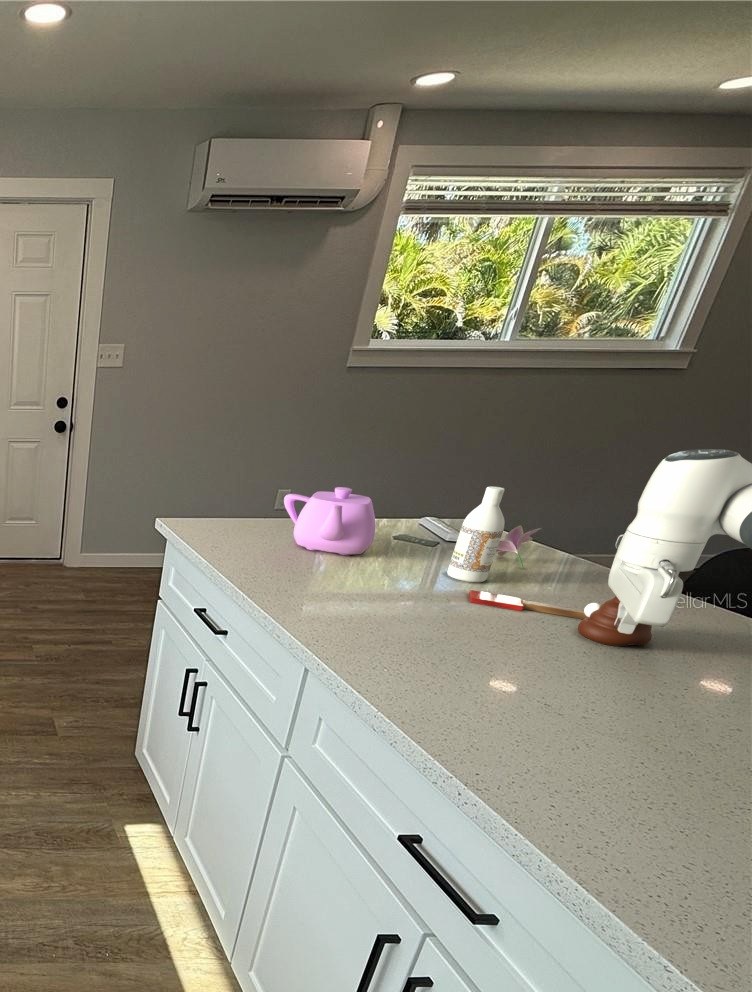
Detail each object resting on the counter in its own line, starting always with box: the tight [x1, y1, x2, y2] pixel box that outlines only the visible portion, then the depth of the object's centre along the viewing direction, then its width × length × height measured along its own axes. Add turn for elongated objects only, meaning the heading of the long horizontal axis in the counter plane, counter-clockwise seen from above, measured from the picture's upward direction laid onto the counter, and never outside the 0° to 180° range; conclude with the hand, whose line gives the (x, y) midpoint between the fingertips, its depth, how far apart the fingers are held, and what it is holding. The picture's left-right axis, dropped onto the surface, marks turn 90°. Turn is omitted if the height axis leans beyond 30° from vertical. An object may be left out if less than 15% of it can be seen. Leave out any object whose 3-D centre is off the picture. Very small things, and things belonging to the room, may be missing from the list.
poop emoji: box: [577, 595, 653, 647], centre depth 110 cm, size 10×8×9 cm
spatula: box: [468, 589, 587, 620], centre depth 123 cm, size 22×5×1 cm, turn 56°
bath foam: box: [446, 486, 506, 583], centre depth 135 cm, size 7×7×20 cm
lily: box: [496, 525, 543, 569], centre depth 146 cm, size 12×12×10 cm
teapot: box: [283, 486, 376, 556], centre depth 155 cm, size 23×21×15 cm
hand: (622, 630), depth 106 cm, fingers closed
